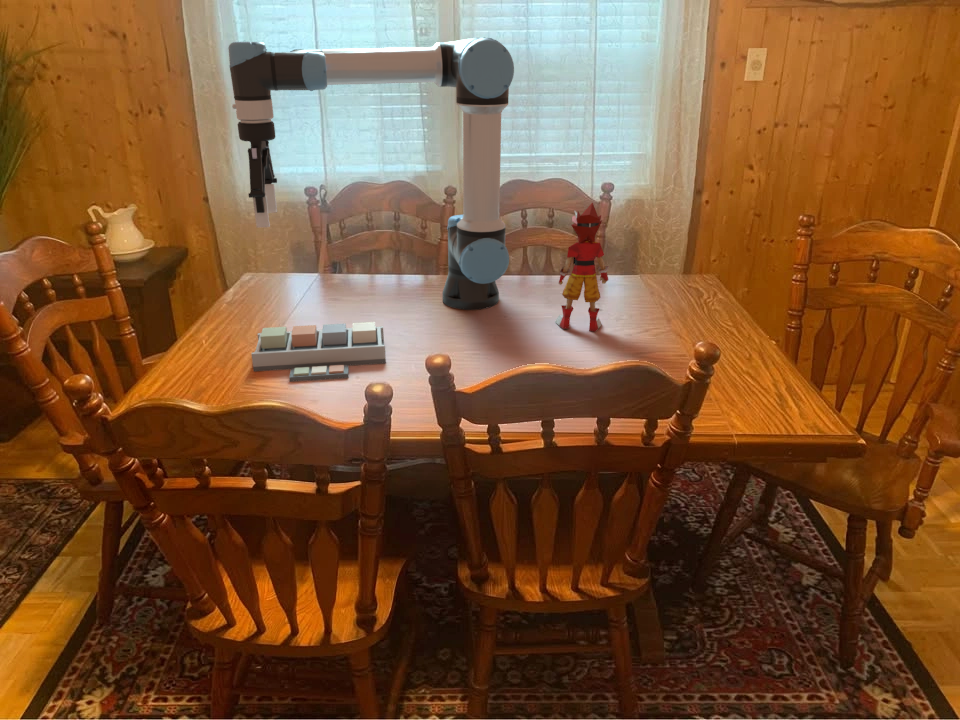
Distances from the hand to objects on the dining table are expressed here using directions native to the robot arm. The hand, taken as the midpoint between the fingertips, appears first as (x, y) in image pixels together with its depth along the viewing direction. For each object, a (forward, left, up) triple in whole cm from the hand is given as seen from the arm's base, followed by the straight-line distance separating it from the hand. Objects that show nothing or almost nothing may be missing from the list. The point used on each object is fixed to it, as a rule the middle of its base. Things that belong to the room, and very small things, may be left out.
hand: (267, 219), depth 165 cm
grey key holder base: (-10, +16, -27) cm, 33 cm away
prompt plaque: (-10, +26, -27) cm, 39 cm away
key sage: (0, +15, -24) cm, 28 cm away
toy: (-72, +7, -28) cm, 78 cm away
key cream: (-20, +15, -24) cm, 35 cm away
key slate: (-13, +16, -24) cm, 31 cm away
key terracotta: (-7, +16, -24) cm, 29 cm away
